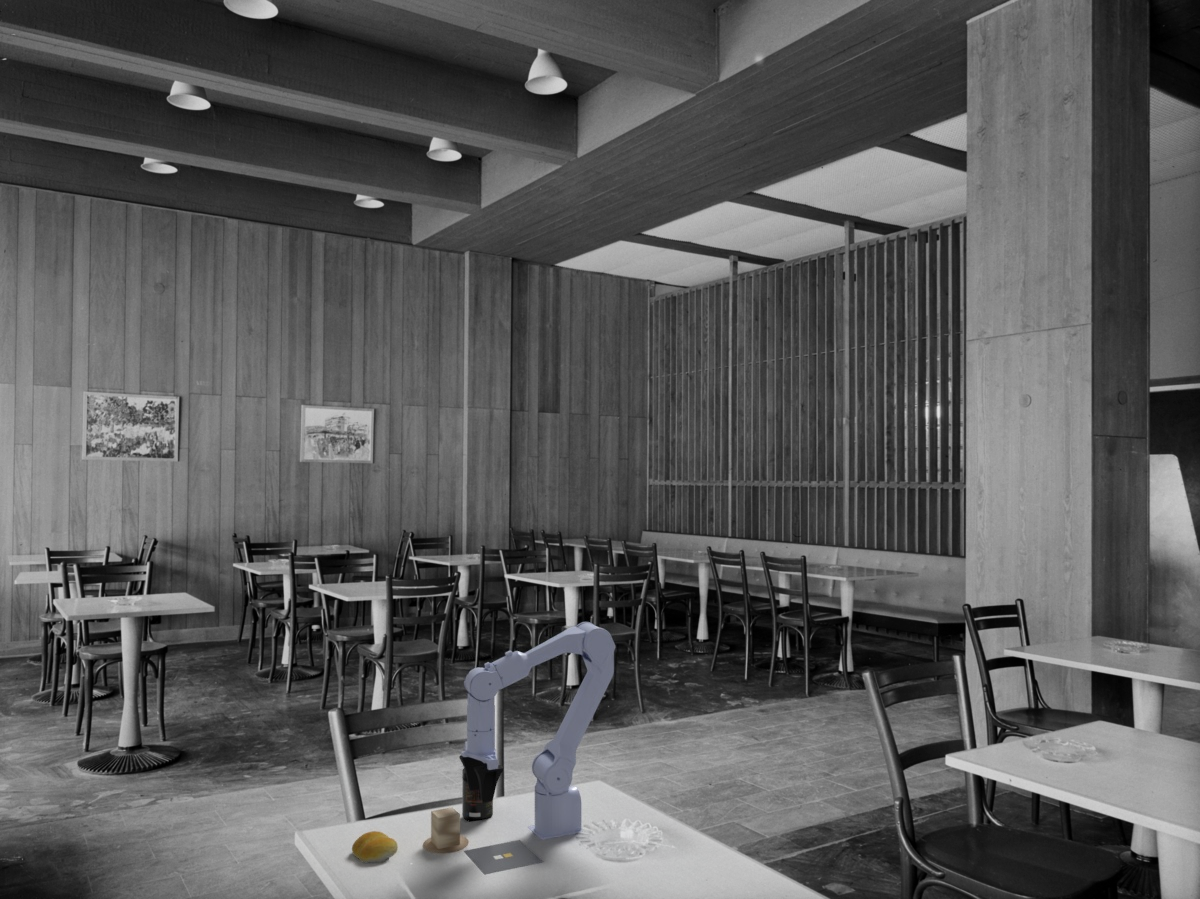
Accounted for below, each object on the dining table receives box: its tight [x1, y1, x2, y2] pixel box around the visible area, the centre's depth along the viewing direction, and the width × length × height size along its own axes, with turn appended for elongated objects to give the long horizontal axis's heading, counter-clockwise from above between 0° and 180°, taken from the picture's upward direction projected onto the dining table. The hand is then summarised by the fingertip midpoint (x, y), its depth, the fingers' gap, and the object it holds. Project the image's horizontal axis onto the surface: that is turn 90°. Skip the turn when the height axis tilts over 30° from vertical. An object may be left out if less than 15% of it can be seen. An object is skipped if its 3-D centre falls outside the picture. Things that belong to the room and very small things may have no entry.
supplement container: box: [461, 768, 494, 823], centre depth 199 cm, size 7×7×10 cm
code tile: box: [463, 839, 545, 875], centre depth 177 cm, size 12×12×1 cm
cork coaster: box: [422, 834, 470, 854], centre depth 184 cm, size 9×9×1 cm
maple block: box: [430, 806, 461, 849], centre depth 184 cm, size 4×4×6 cm
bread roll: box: [351, 831, 399, 863], centre depth 180 cm, size 8×9×4 cm
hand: (480, 795), depth 186 cm, fingers open, 7 cm apart
